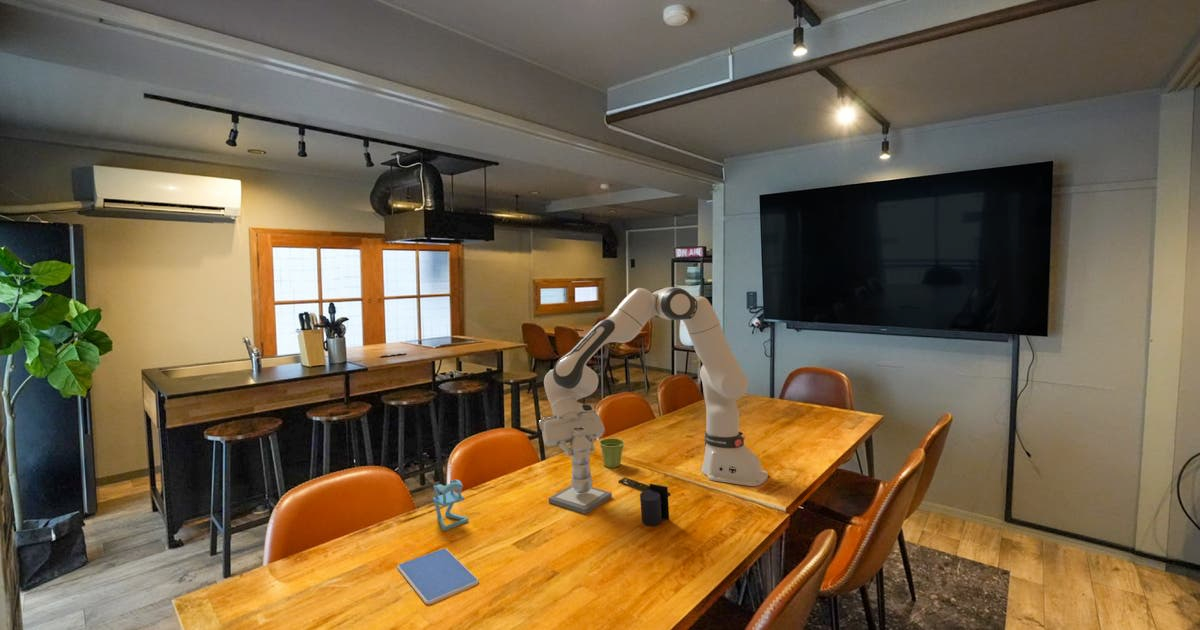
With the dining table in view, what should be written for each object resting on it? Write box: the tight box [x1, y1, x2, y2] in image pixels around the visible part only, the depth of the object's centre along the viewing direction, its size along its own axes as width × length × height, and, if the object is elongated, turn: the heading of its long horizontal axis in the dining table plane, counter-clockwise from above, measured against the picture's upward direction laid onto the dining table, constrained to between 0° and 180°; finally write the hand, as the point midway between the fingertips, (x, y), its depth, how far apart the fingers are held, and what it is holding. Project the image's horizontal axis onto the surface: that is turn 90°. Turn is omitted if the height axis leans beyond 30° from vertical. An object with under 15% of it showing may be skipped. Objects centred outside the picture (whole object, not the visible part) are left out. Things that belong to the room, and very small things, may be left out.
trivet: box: [548, 485, 613, 515], centre depth 160 cm, size 14×14×2 cm
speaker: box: [639, 483, 670, 527], centre depth 145 cm, size 8×6×10 cm
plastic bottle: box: [568, 427, 593, 493], centre depth 159 cm, size 6×7×20 cm
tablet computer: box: [396, 548, 480, 605], centre depth 121 cm, size 19×13×1 cm, turn 40°
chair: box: [432, 479, 469, 531], centre depth 146 cm, size 8×8×12 cm
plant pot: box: [598, 437, 626, 469], centre depth 189 cm, size 9×9×9 cm
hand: (581, 452), depth 158 cm, fingers closed on plastic bottle, 6 cm apart
